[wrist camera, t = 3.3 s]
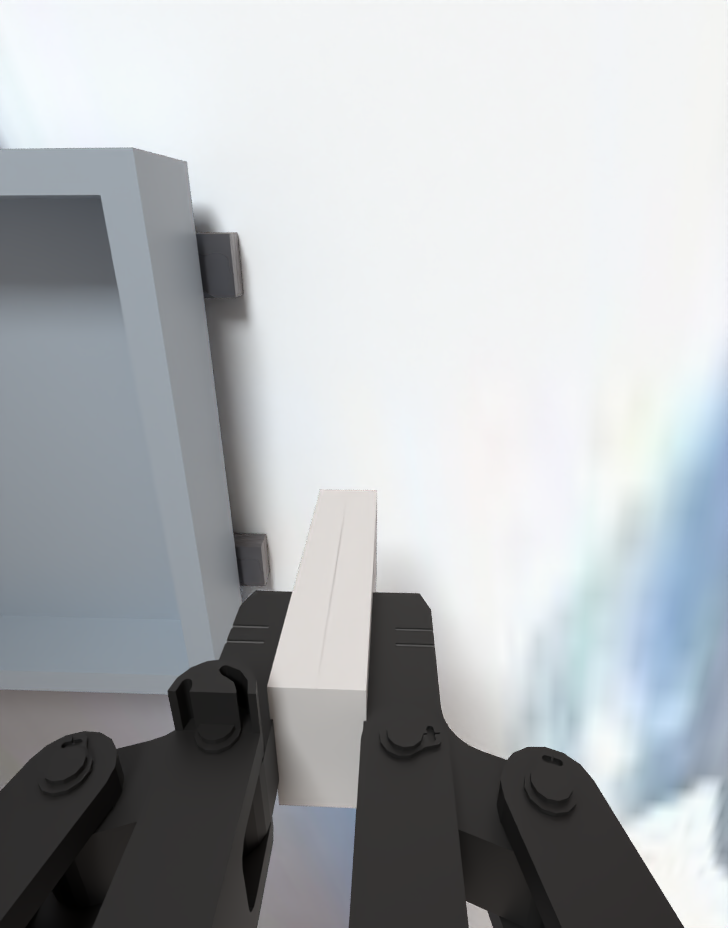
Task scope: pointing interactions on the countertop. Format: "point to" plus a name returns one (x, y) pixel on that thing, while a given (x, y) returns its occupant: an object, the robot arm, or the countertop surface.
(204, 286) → the rails
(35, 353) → the shallow square tray
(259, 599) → the robot arm
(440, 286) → the countertop surface
